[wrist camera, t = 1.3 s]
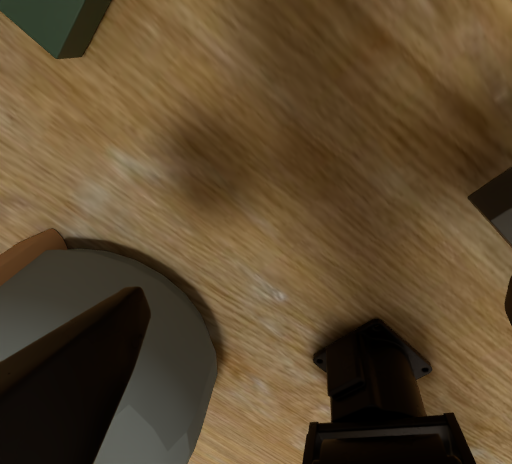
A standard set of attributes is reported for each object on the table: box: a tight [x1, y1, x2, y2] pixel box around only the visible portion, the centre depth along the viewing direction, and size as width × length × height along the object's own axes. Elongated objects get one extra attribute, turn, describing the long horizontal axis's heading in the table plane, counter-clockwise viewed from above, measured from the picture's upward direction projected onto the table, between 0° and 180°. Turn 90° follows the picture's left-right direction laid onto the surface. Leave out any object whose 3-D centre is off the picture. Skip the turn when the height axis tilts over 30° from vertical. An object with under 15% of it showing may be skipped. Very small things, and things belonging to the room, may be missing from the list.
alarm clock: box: [0, 229, 217, 464], centre depth 25 cm, size 19×20×12 cm
